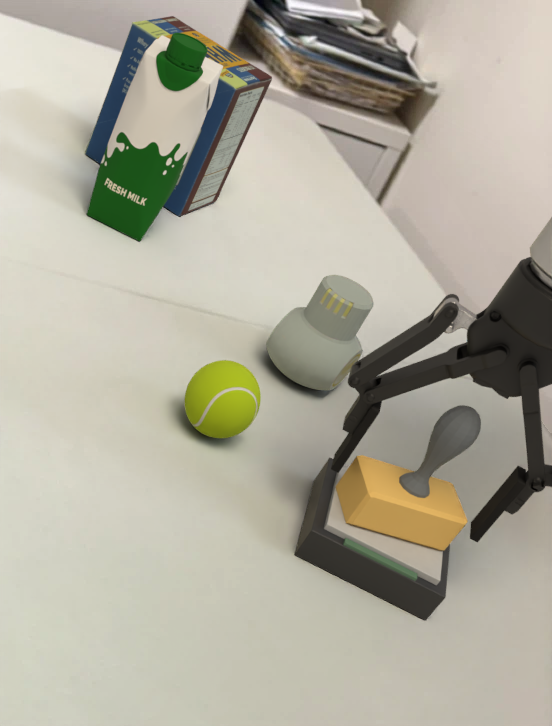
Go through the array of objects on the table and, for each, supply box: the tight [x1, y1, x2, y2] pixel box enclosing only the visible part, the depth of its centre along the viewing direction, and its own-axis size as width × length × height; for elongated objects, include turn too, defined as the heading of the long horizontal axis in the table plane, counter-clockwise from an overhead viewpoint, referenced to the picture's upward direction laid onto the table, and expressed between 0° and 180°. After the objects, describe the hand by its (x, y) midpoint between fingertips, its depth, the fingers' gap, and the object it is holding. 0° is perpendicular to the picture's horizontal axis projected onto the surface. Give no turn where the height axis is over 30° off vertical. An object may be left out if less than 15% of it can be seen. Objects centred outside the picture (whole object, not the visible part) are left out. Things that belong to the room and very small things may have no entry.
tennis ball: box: [183, 359, 262, 439], centre depth 102 cm, size 7×7×7 cm
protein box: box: [84, 15, 273, 217], centre depth 133 cm, size 10×15×16 cm
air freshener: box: [265, 274, 375, 391], centre depth 115 cm, size 11×8×10 cm
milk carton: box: [86, 33, 223, 242], centre depth 121 cm, size 9×9×20 cm
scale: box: [294, 457, 451, 621], centre depth 99 cm, size 13×13×4 cm
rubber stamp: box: [336, 404, 482, 551], centre depth 94 cm, size 10×6×12 cm, turn 89°
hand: (404, 498), depth 96 cm, fingers open, 13 cm apart
